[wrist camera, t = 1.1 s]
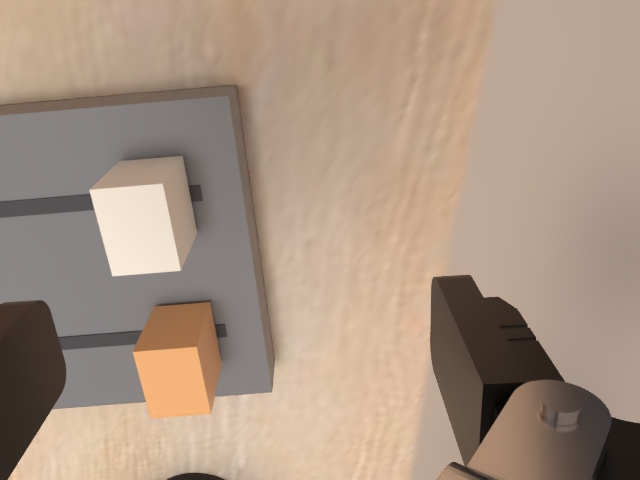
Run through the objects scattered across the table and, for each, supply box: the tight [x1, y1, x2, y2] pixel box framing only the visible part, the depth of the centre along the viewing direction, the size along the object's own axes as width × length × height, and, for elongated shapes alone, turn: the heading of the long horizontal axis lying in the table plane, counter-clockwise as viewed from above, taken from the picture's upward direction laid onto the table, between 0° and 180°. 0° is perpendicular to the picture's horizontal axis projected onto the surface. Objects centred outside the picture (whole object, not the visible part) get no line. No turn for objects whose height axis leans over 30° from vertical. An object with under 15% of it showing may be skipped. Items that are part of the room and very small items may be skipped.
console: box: [0, 85, 275, 409], centre depth 31 cm, size 17×20×3 cm
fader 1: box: [89, 156, 197, 276], centre depth 25 cm, size 4×3×4 cm
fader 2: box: [133, 302, 222, 418], centre depth 29 cm, size 4×3×4 cm
